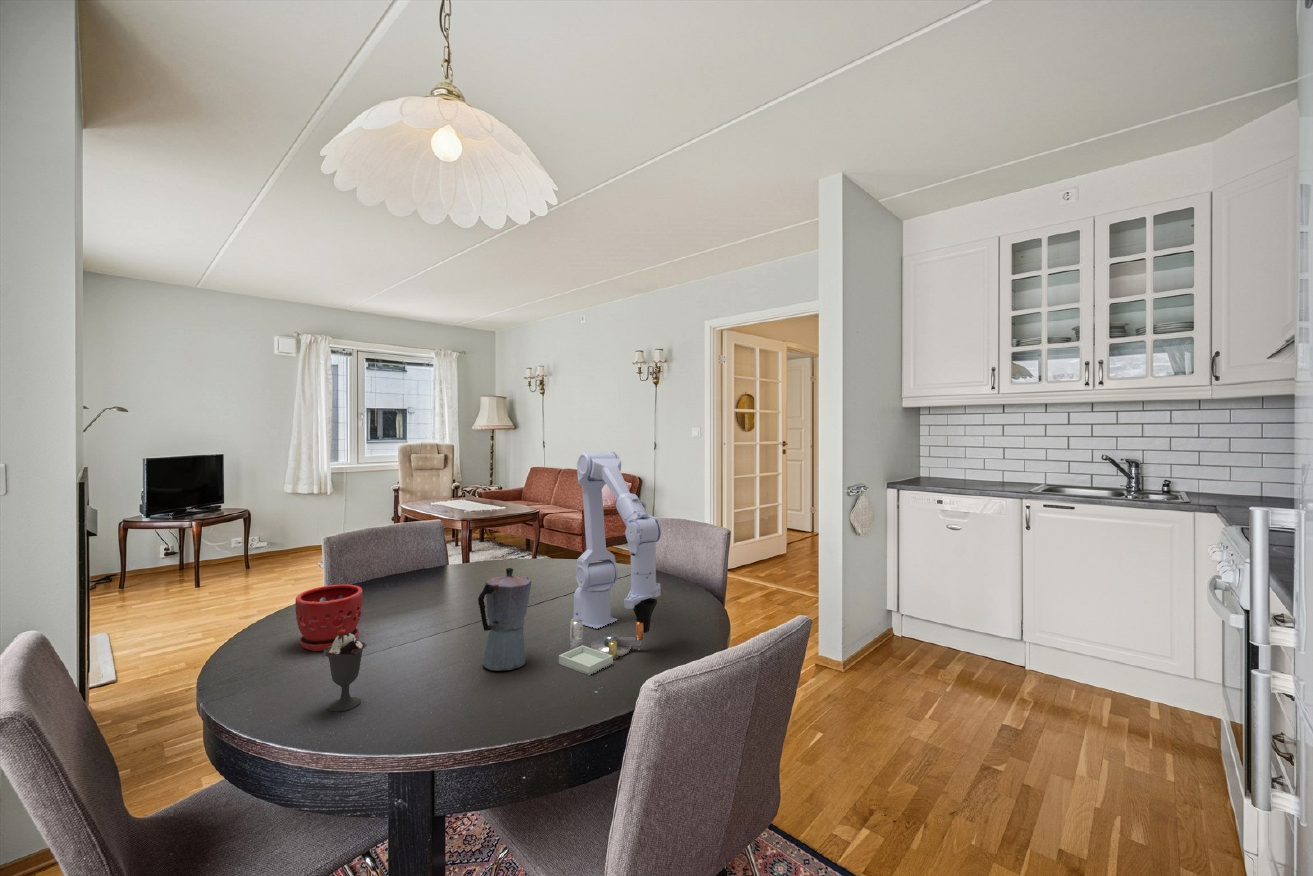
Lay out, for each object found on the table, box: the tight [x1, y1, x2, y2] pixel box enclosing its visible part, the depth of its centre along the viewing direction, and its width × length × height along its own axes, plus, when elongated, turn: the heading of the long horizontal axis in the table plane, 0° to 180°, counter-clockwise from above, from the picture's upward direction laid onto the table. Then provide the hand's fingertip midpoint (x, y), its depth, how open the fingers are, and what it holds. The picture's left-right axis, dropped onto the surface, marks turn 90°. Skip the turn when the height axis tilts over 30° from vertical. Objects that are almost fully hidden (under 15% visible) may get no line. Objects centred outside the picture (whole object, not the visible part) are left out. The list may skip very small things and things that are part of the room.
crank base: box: [590, 637, 632, 660], centre depth 121 cm, size 9×9×3 cm
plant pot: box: [295, 584, 364, 652], centre depth 123 cm, size 13×13×12 cm
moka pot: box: [477, 567, 532, 672], centre depth 113 cm, size 10×15×20 cm, turn 161°
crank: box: [603, 620, 645, 647], centre depth 121 cm, size 9×3×5 cm, turn 86°
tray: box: [558, 644, 614, 677], centre depth 114 cm, size 9×7×2 cm
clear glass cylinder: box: [569, 618, 584, 651], centre depth 121 cm, size 3×3×6 cm
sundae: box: [323, 619, 368, 712], centre depth 95 cm, size 7×7×15 cm
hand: (643, 631), depth 122 cm, fingers closed, pressing on crank
